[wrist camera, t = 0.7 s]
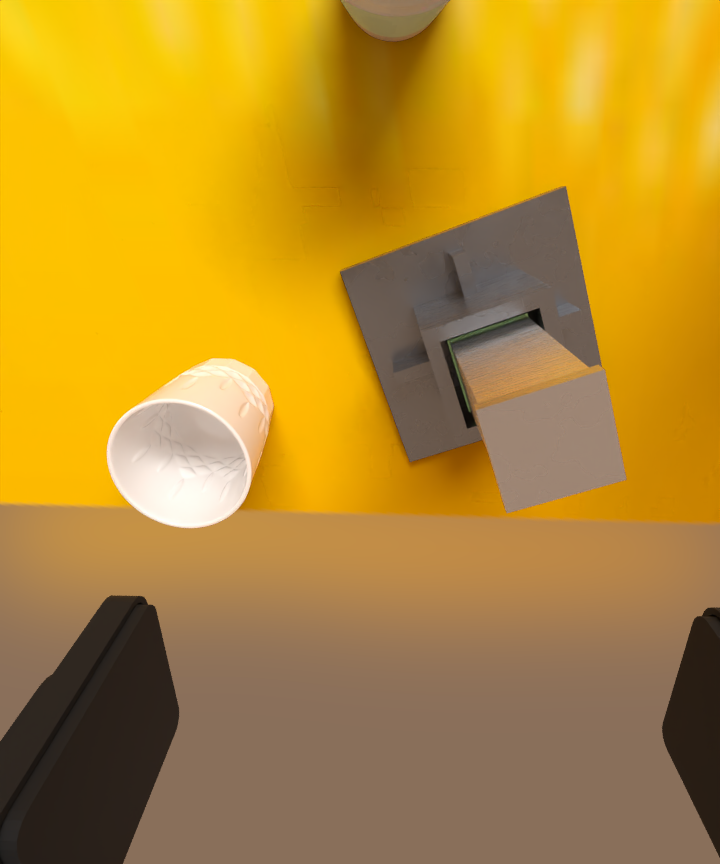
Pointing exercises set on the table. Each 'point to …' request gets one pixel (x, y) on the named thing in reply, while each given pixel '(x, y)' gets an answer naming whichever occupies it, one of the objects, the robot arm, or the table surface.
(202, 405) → the white cup
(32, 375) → the table surface
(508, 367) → the post
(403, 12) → the coffee cup
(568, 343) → the stand base
